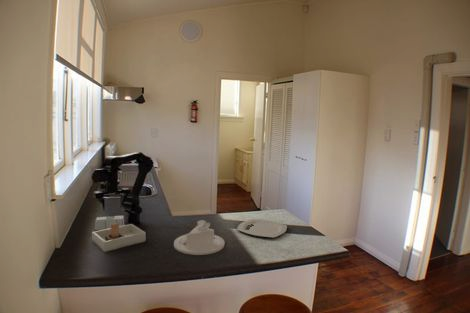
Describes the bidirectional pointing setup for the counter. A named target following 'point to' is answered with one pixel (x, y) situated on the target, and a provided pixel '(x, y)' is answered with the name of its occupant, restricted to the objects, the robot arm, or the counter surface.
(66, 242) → the counter surface
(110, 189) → the robot arm
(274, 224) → the plate
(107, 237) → the socket
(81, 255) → the counter surface
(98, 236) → the tray
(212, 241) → the dish
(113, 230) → the peg
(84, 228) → the counter surface
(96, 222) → the syrup box
